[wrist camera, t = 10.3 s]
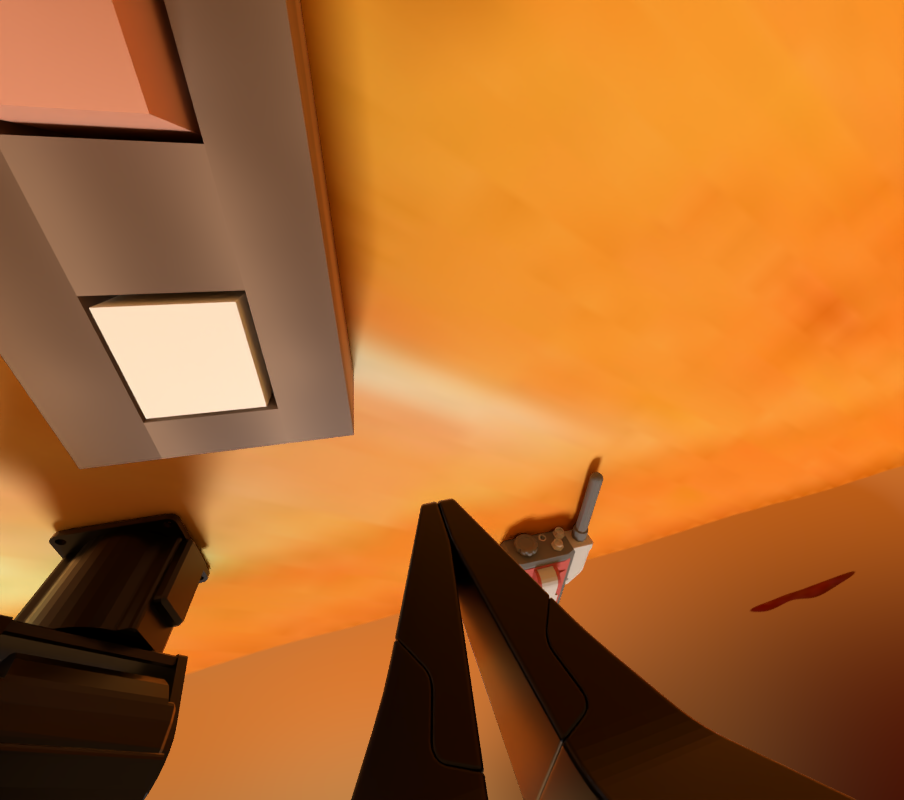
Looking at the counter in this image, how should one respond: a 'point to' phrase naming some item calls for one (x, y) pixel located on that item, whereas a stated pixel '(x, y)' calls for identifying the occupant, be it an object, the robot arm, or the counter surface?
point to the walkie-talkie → (557, 547)
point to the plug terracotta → (94, 70)
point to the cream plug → (186, 351)
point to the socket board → (182, 245)
